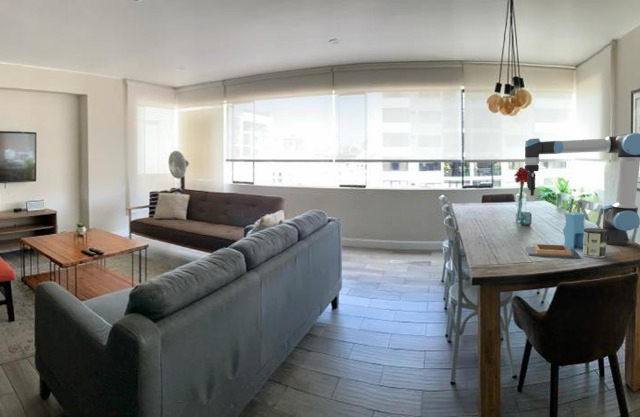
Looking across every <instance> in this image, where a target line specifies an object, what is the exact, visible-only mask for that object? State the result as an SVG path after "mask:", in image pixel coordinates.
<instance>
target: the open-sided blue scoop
mask: <svg viewBox="0 0 640 417" xmlns="http://www.w3.org/2000/svg"><path fill="white" fill-rule="evenodd" d="M563 214H564V217H565V224H564V227H563V230H562V231H563V232H562V233H563V236H564V244H563V245H566V246H567V247H568V249H574V250H575V247H577V248H582V249H583V242H584V229H586V227H585V225H584V220H585V215H586V213H583V212H577V211H574V212H573V213H567V212H564V213H563Z"/></svg>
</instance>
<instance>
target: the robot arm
mask: <svg viewBox="0 0 640 417" xmlns="http://www.w3.org/2000/svg"><path fill="white" fill-rule="evenodd" d="M600 152H601V153H602V152H604V153H606V154H617V159H618V160H619V161H620V163H619V164H620V165H619V171H618V183H617V192H616V199H615V200H616V201H615V203H613V204H606V205H604V207H603V210H602V211H603V214H602V229H605V230H607V237H606V245H611V246H612V245H614V246H627V245H630V237H629V234H628V232H627V231H633V230H634V229H636V228H637V227H638V226H639V225H640V216H639V214H638V213H639V212H638V211H639V206H638V205H637V204H636V198H637V189H638V180H639V172H640V133H639V132H632V133H631V132H630V133H624V134H620V135H614V136H613V135H612V136H607V137H605V138H593V139H573V140H548V141H546V140H545V141H540V138H527V139H526V140H525V144H524V159H523V162H524V171H525V172H527V185H526V186H527V187H526V188H527V189H526V190H527V193H526V197H527V199H528V200H529V201H528V202H535V200H536V198H535V197H536V194H535V193H536V192H535V191H536V172H538V171H539V168H540V167H539V166H540V165H539V164H540V155H557V154H573V153H575V154H576V153H578V154H579V153H600Z"/></svg>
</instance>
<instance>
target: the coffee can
mask: <svg viewBox="0 0 640 417" xmlns="http://www.w3.org/2000/svg"><path fill="white" fill-rule="evenodd" d="M606 237H607V230H605V229H603V228H598V227H597V228H596V227H595V228H592V227H589V228H586V227H585V229H584V242H583V248H582V256H585V257H588V258H593V259H594V258H596V259H600V258H601V259H602V258H603V259H604V258H606V254H607V252H606V250H607V244H606Z"/></svg>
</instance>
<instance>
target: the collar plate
mask: <svg viewBox="0 0 640 417" xmlns="http://www.w3.org/2000/svg"><path fill="white" fill-rule="evenodd" d="M525 250H526V252H527V255H528V256H531V257H548V258H564V259H565V258H568V259H581V255H580V254H579V253H578V252H577V251H576V250H575V248H574V249H571V248H568V247H567V246H566V245H564V244H544V243H533V246H525Z"/></svg>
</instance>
